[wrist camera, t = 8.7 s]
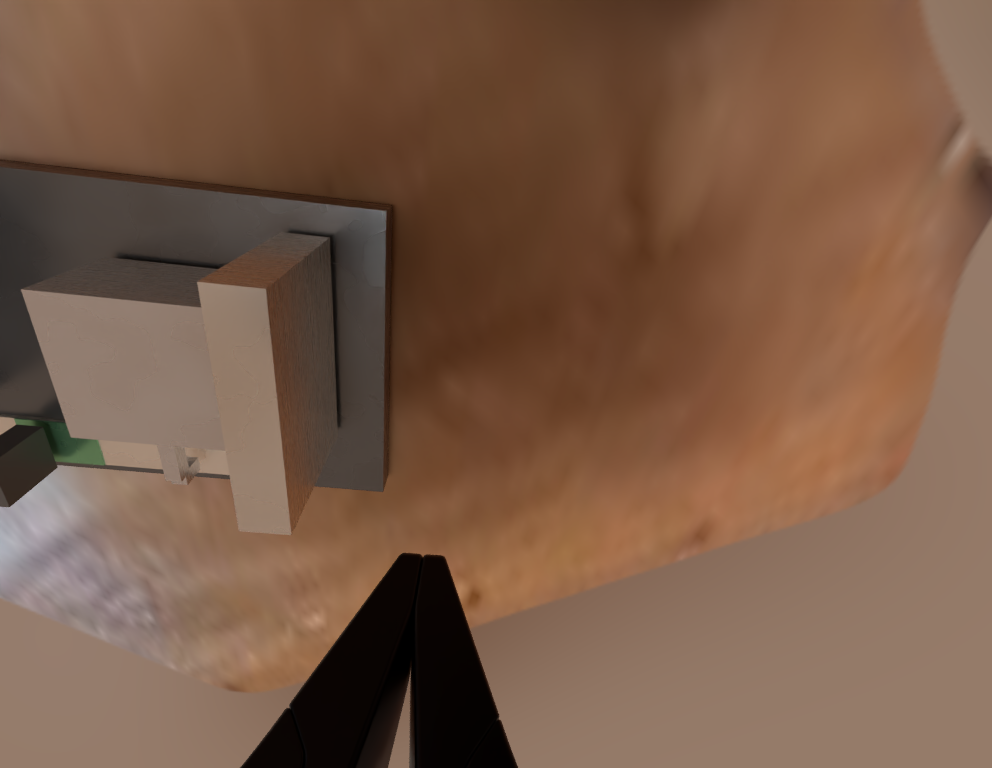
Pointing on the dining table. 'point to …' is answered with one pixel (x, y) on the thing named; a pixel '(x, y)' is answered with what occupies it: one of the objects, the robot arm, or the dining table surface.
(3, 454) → the charcoal cuboid
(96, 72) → the dining table surface
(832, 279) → the dining table surface
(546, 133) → the dining table surface
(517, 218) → the dining table surface
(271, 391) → the block with end plate
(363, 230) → the gauge bench
